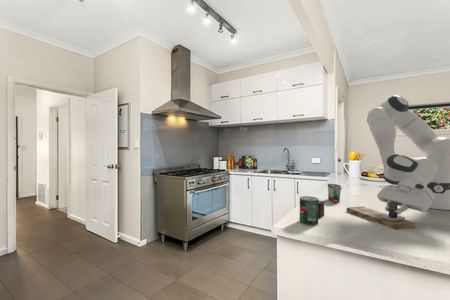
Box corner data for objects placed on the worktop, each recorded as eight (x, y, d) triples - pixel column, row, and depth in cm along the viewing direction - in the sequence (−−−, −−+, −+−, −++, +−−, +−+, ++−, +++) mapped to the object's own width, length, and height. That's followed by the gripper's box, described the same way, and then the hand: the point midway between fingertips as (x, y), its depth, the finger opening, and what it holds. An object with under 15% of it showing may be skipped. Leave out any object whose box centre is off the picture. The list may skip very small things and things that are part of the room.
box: (324, 215, 108) (324, 201, 108) (320, 218, 104) (320, 203, 104) (312, 213, 113) (312, 199, 112) (307, 216, 108) (307, 201, 108)
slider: (381, 217, 98) (381, 201, 98) (393, 216, 100) (393, 200, 100) (392, 221, 93) (392, 204, 93) (405, 220, 95) (405, 203, 95)
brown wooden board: (346, 211, 116) (346, 207, 116) (362, 210, 118) (362, 206, 118) (395, 229, 90) (395, 224, 90) (414, 227, 93) (414, 222, 93)
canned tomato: (295, 221, 100) (295, 197, 100) (308, 218, 104) (308, 195, 104) (309, 227, 93) (309, 201, 93) (322, 224, 97) (322, 199, 97)
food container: (344, 204, 131) (345, 187, 131) (333, 203, 132) (334, 186, 132) (337, 199, 143) (337, 183, 143) (327, 198, 144) (327, 183, 144)
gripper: (384, 180, 108) (367, 201, 106) (431, 187, 88) (412, 213, 86) (391, 188, 109) (374, 209, 107) (439, 198, 89) (420, 224, 87)
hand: (391, 211), depth 96 cm, fingers closed on slider, 3 cm apart
